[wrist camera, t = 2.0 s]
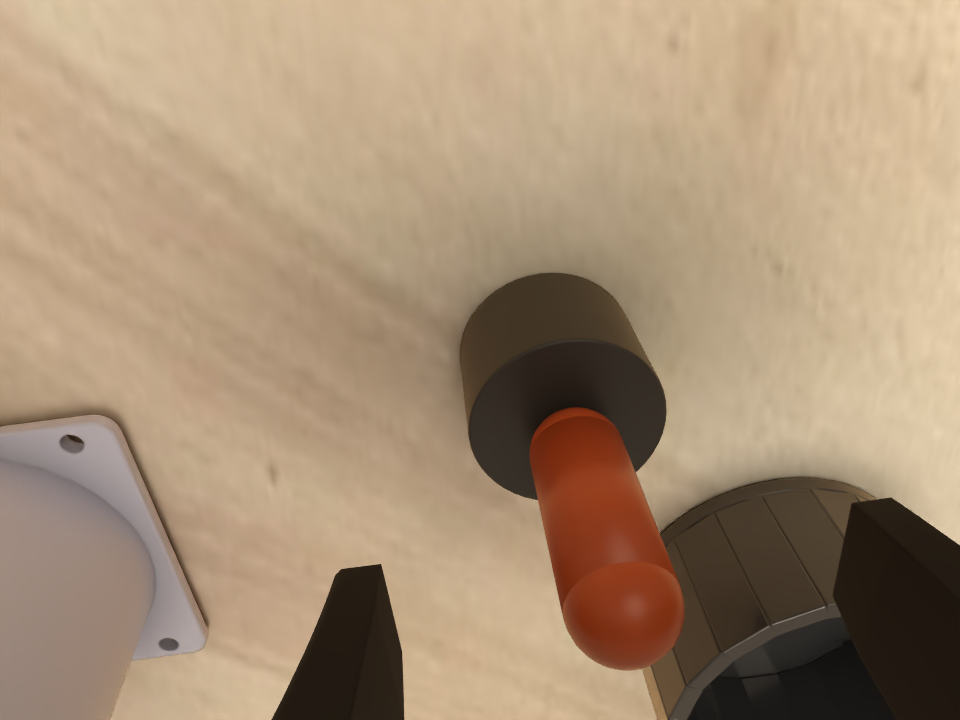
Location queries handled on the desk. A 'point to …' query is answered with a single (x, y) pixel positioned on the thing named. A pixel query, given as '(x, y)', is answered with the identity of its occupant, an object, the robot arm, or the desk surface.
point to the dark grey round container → (764, 610)
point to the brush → (577, 454)
